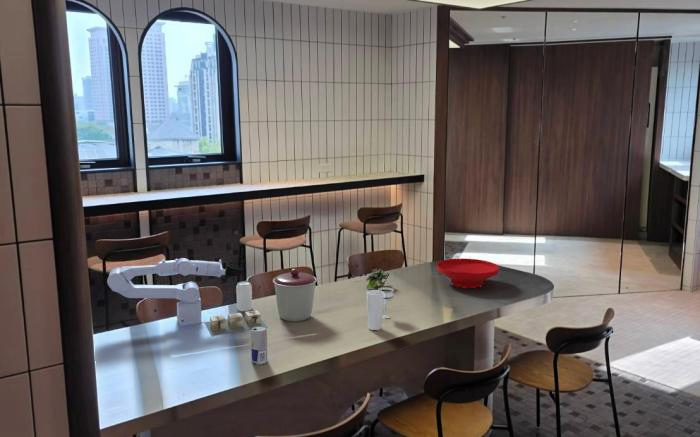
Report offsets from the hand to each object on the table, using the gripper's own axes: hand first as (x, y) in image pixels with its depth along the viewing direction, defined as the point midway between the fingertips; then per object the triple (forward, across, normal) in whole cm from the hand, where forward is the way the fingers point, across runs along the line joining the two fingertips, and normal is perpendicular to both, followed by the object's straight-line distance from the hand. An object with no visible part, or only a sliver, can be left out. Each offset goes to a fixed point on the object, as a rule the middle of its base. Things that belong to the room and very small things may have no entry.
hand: (241, 270), depth 232 cm
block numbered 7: (+6, -8, +19) cm, 22 cm away
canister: (+24, -6, +17) cm, 30 cm away
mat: (-1, -8, +21) cm, 23 cm away
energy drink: (+3, -44, +24) cm, 50 cm away
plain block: (-1, -8, +21) cm, 22 cm away
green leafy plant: (+72, +22, +7) cm, 75 cm away
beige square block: (-8, -9, +22) cm, 25 cm away
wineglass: (+60, -17, +12) cm, 63 cm away
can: (+5, +10, +18) cm, 22 cm away
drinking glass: (+51, -28, +15) cm, 60 cm away
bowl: (+116, +13, 0) cm, 117 cm away
